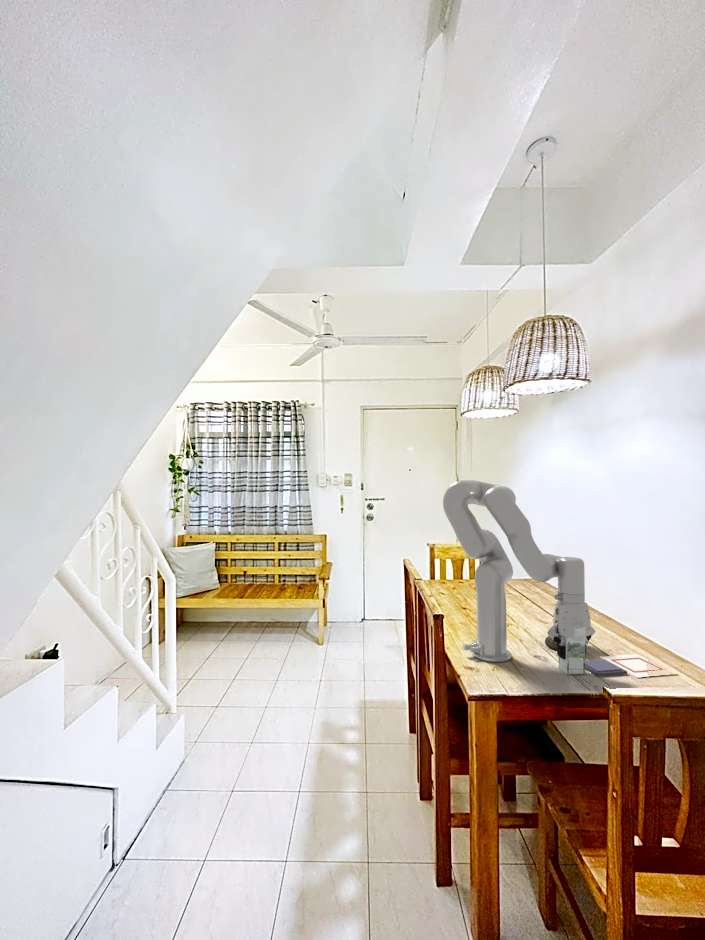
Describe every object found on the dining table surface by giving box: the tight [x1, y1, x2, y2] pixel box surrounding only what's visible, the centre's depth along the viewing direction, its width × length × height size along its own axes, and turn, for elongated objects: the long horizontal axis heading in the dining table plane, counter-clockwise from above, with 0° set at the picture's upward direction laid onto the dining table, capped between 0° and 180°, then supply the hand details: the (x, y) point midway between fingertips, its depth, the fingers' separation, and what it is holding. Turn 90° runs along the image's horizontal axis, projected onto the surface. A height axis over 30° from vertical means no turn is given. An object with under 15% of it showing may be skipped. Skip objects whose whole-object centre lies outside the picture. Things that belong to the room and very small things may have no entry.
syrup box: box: [558, 627, 586, 676], centre depth 151 cm, size 6×6×14 cm
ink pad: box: [585, 658, 628, 677], centre depth 153 cm, size 10×10×1 cm
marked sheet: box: [598, 653, 663, 679], centre depth 156 cm, size 14×17×1 cm
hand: (571, 656), depth 151 cm, fingers closed on syrup box, 6 cm apart
